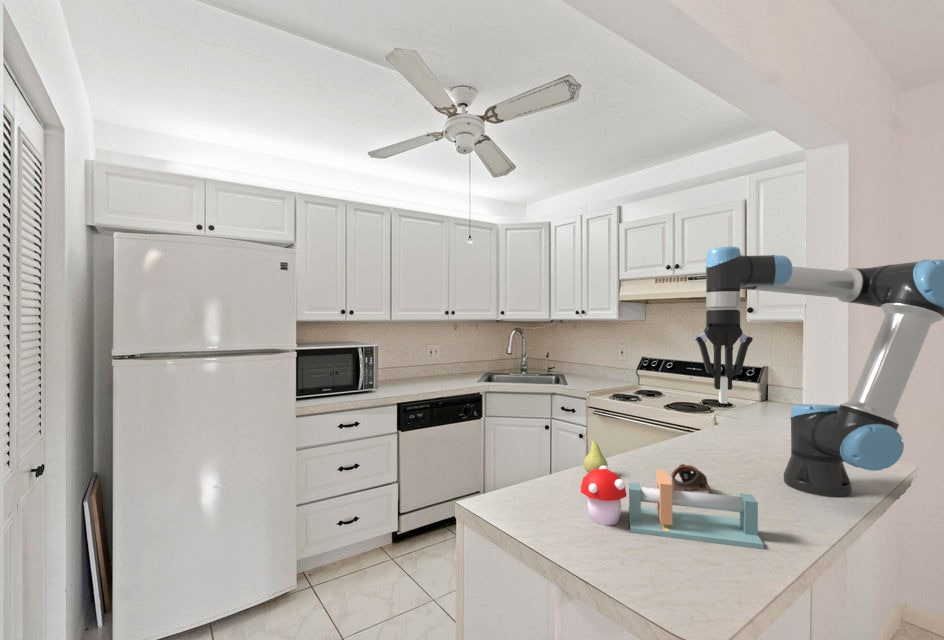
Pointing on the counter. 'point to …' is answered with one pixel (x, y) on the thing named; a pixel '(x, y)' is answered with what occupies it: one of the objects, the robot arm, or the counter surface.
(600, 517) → the mushroom
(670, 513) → the peach rectangular collar
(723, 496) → the pipe rig
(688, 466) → the pottery mug
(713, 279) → the robot arm
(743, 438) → the counter surface
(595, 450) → the fruit
